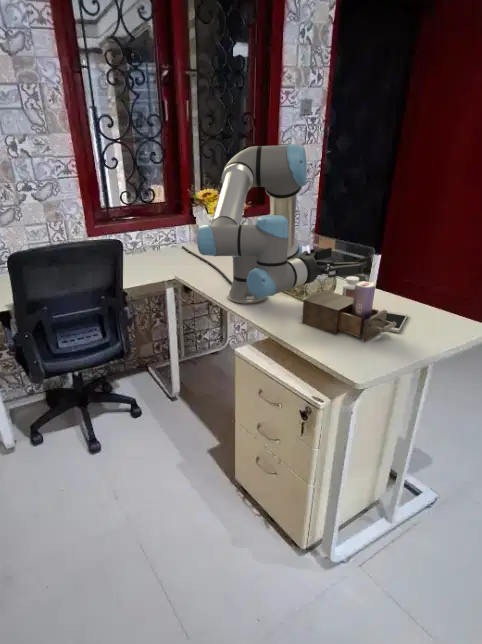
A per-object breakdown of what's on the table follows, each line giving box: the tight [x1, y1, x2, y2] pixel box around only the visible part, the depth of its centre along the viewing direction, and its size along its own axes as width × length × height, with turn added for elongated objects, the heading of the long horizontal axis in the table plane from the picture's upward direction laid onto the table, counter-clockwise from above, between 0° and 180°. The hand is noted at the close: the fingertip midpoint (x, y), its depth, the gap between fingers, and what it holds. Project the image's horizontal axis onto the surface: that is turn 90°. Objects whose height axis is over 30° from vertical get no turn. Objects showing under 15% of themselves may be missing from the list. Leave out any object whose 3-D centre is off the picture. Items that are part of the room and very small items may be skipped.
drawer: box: [338, 306, 397, 342], centre depth 134 cm, size 17×12×7 cm
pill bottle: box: [341, 275, 360, 298], centre depth 157 cm, size 6×6×11 cm
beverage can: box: [352, 280, 376, 331], centre depth 133 cm, size 6×6×15 cm
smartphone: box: [385, 310, 409, 333], centre depth 143 cm, size 7×16×1 cm, turn 146°
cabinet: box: [301, 290, 353, 336], centre depth 144 cm, size 14×13×9 cm
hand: (349, 256), depth 120 cm, fingers open, 13 cm apart
